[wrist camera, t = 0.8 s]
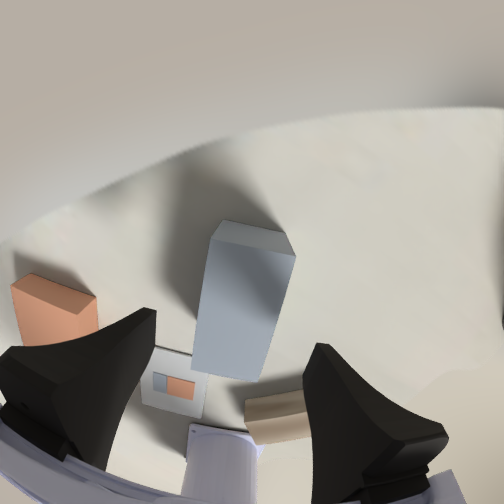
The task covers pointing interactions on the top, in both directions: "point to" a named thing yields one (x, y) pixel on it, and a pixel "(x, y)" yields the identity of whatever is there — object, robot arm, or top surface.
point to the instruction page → (173, 384)
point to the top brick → (240, 299)
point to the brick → (277, 418)
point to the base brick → (52, 311)
